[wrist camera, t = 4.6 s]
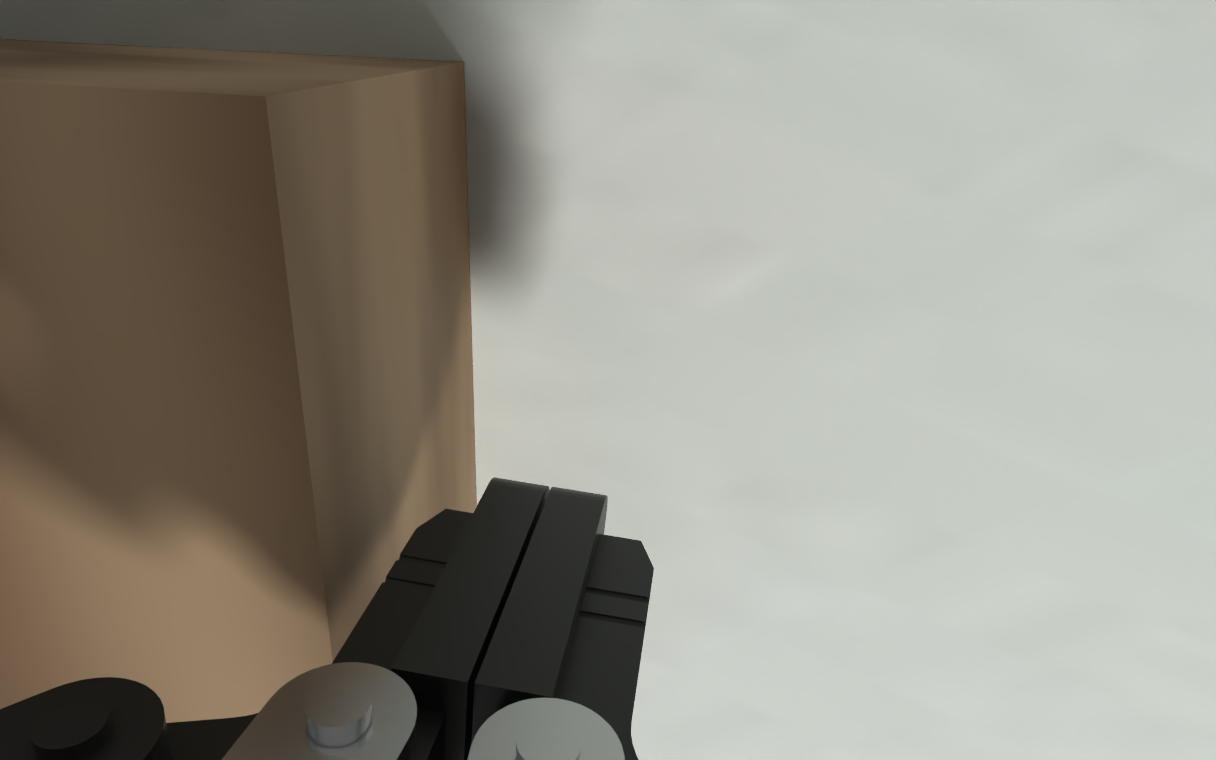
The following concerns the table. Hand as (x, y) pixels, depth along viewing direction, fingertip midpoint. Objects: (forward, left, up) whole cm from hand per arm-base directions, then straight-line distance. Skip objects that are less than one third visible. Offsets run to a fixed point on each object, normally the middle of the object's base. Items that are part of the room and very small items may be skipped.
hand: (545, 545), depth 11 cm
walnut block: (-7, 0, -4) cm, 8 cm away
